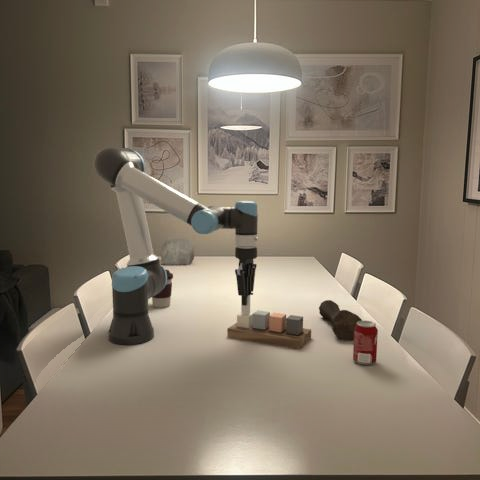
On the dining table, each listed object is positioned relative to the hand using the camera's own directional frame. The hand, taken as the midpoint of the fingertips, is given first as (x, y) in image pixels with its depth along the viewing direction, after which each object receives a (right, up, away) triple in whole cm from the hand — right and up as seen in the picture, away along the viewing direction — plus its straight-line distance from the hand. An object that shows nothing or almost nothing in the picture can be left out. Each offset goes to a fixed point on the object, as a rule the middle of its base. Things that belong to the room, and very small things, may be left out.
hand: (245, 313), depth 170 cm
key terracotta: (+11, -5, -5) cm, 13 cm away
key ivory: (0, -5, +1) cm, 5 cm away
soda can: (+35, -11, -24) cm, 44 cm away
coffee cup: (-35, -2, +35) cm, 50 cm away
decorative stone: (-40, +11, +125) cm, 132 cm away
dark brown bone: (+33, -7, +7) cm, 35 cm away
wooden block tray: (+8, -8, -3) cm, 11 cm away
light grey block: (+5, -4, -2) cm, 7 cm away
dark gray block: (+16, -5, -7) cm, 18 cm away
